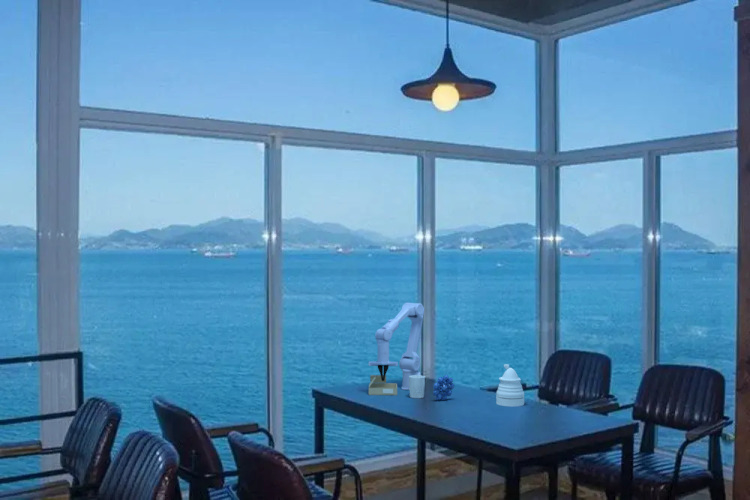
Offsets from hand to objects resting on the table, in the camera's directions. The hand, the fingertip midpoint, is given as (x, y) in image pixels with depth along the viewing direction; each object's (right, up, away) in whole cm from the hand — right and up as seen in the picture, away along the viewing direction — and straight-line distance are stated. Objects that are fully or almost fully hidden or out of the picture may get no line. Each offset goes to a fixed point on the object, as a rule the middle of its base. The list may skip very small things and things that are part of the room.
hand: (383, 380), depth 382 cm
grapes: (+28, -7, -16) cm, 33 cm away
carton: (0, -6, +3) cm, 7 cm away
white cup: (+16, -7, -9) cm, 20 cm away
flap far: (-7, -3, 0) cm, 8 cm away
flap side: (-2, -3, +10) cm, 10 cm away
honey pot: (+59, -7, -24) cm, 64 cm away
